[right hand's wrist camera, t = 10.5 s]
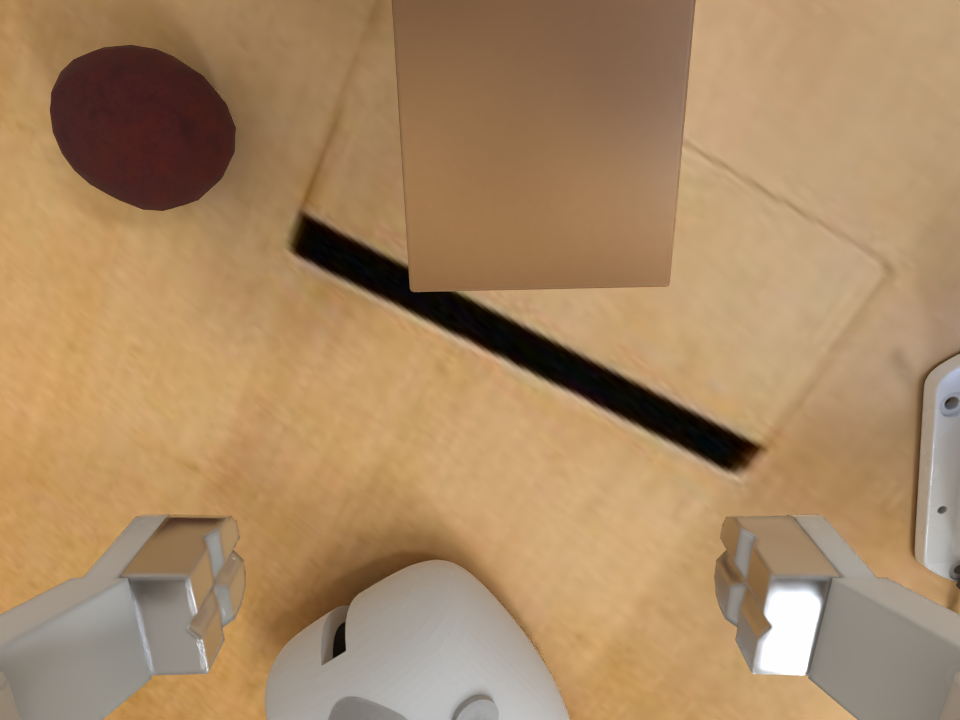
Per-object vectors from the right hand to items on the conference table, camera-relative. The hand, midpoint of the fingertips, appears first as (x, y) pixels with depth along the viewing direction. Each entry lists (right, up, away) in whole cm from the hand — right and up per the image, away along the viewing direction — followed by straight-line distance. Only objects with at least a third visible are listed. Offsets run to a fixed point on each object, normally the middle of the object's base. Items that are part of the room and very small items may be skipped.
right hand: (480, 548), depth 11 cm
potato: (-16, +15, +23) cm, 32 cm away
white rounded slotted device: (-2, -20, +37) cm, 42 cm away
